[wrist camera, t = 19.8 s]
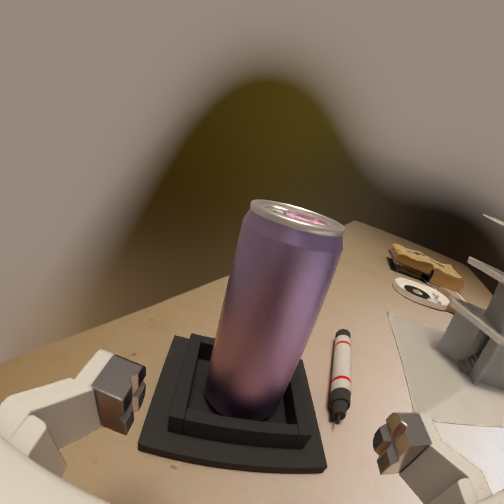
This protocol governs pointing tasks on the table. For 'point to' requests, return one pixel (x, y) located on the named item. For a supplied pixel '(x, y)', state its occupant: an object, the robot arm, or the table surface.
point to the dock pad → (228, 420)
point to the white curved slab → (426, 294)
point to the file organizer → (458, 360)
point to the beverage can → (270, 306)
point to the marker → (341, 376)
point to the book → (425, 268)
